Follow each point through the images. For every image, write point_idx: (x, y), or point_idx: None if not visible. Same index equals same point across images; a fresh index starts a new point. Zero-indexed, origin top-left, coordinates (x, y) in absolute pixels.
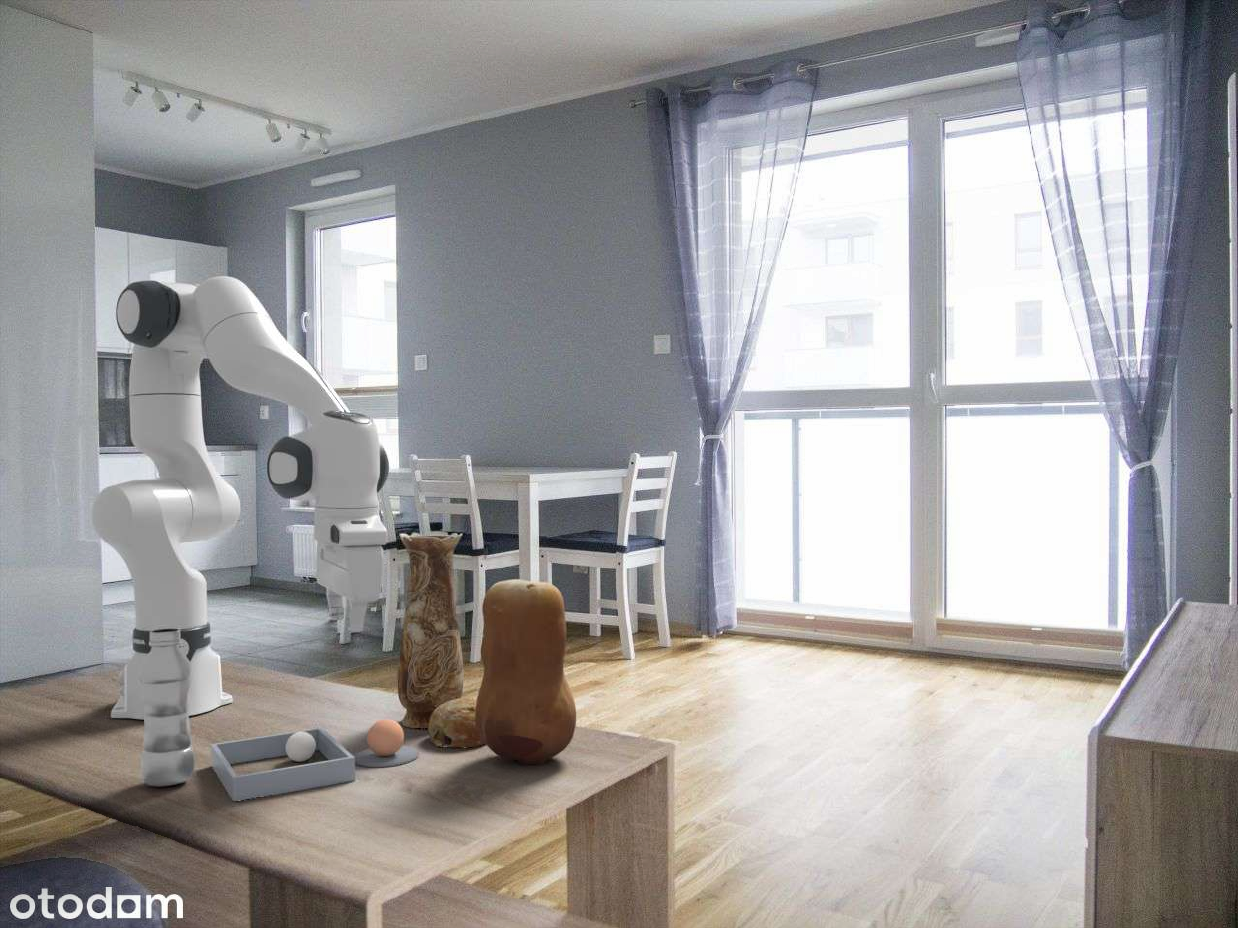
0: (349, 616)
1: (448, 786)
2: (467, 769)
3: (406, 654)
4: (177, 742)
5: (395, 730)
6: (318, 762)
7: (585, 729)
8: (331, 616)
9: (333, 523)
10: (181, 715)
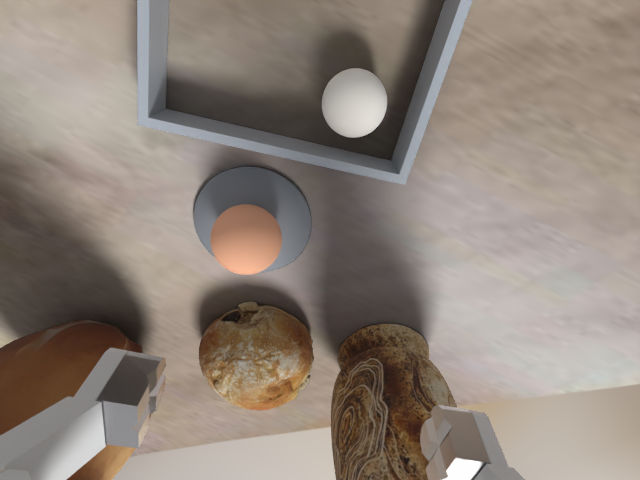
0: (84, 410)
1: (35, 213)
2: (107, 274)
3: (403, 441)
4: None
5: (214, 253)
6: (145, 43)
7: (189, 445)
8: (452, 417)
9: None
10: None
